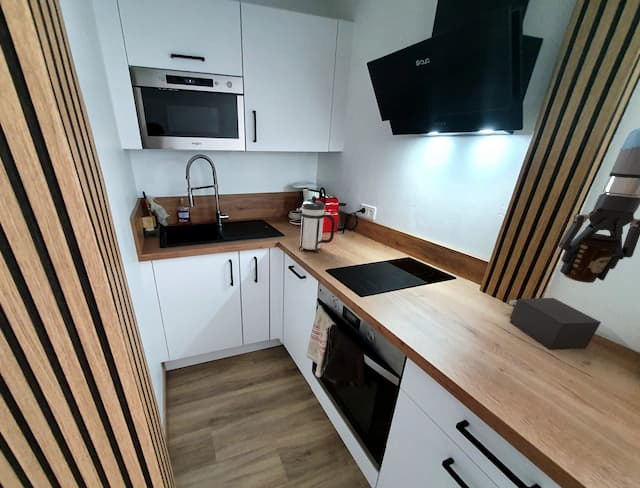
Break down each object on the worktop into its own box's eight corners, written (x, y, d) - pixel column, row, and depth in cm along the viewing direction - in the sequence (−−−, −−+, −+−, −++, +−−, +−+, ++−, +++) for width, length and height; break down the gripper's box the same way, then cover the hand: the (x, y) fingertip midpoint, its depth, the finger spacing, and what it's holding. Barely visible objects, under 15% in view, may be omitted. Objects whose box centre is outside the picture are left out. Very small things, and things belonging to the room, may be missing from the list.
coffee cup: (603, 281, 82) (627, 237, 76) (597, 288, 77) (621, 242, 72) (563, 270, 88) (582, 230, 83) (555, 276, 84) (575, 234, 78)
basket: (499, 311, 104) (507, 293, 101) (527, 311, 106) (536, 292, 102) (545, 342, 88) (555, 321, 85) (578, 341, 89) (589, 320, 86)
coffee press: (305, 255, 155) (308, 199, 143) (293, 246, 169) (295, 194, 156) (332, 252, 161) (338, 198, 149) (319, 243, 174) (323, 193, 162)
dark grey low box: (509, 322, 100) (519, 298, 96) (542, 321, 101) (553, 297, 97) (549, 349, 86) (562, 323, 83) (586, 348, 88) (601, 322, 84)
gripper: (666, 196, 72) (620, 277, 82) (564, 189, 80) (533, 264, 89) (689, 200, 66) (637, 288, 75) (577, 193, 73) (542, 273, 83)
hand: (581, 275), depth 82 cm, fingers closed on coffee cup, 7 cm apart
